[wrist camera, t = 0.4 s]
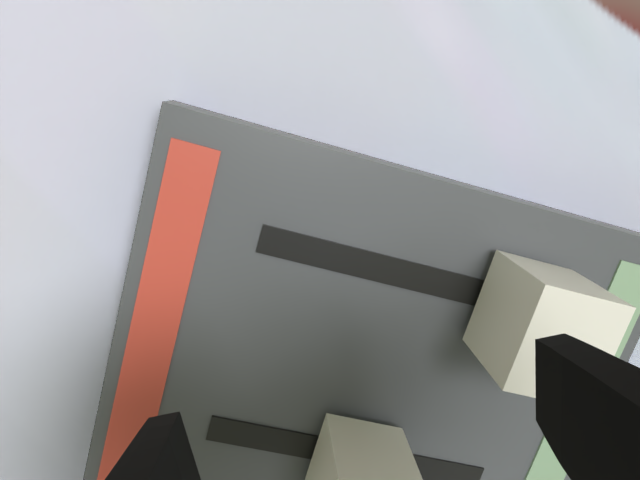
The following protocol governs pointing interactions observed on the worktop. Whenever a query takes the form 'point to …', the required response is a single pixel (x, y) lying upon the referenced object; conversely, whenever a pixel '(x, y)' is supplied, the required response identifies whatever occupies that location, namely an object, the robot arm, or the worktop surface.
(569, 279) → the outer switch
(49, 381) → the worktop surface
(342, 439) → the middle switch
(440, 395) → the switch panel
